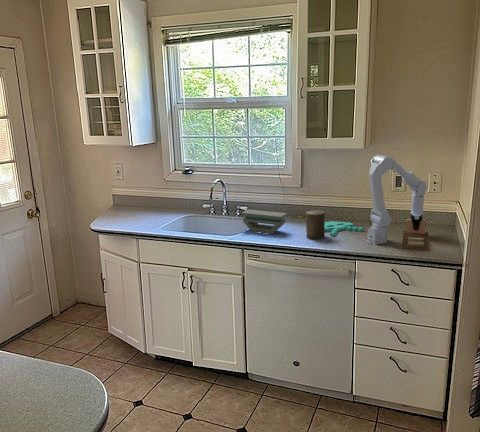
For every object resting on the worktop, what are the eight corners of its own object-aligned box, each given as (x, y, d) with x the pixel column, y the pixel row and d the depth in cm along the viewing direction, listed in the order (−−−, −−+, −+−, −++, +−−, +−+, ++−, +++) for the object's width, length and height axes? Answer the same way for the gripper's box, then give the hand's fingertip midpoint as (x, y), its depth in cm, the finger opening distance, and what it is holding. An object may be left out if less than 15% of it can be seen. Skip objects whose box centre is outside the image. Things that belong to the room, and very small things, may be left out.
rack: (430, 252, 209) (430, 247, 208) (400, 250, 214) (400, 245, 213) (428, 236, 232) (429, 231, 231) (402, 234, 237) (402, 230, 236)
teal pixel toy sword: (363, 231, 246) (342, 223, 264) (363, 228, 245) (342, 219, 263) (332, 237, 239) (313, 228, 257) (332, 233, 239) (313, 224, 257)
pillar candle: (325, 239, 235) (325, 211, 231) (306, 239, 236) (306, 212, 232) (323, 234, 244) (323, 207, 241) (305, 234, 245) (305, 207, 241)
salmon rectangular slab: (424, 236, 229) (425, 220, 227) (406, 235, 232) (407, 219, 230) (424, 235, 231) (425, 220, 228) (406, 234, 234) (407, 219, 231)
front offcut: (423, 249, 212) (423, 243, 211) (407, 248, 214) (407, 242, 214) (423, 248, 213) (423, 242, 213) (407, 246, 216) (407, 241, 215)
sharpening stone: (287, 231, 251) (287, 213, 248) (281, 235, 245) (281, 216, 242) (248, 227, 263) (247, 209, 260) (242, 230, 257) (241, 212, 254)
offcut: (423, 244, 218) (423, 239, 217) (407, 243, 220) (408, 238, 220) (423, 243, 219) (423, 238, 218) (407, 242, 222) (408, 237, 221)
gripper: (426, 207, 219) (424, 233, 222) (425, 200, 232) (424, 225, 235) (410, 206, 221) (409, 232, 225) (411, 200, 234) (409, 224, 238)
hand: (415, 229), depth 230 cm, fingers open, 3 cm apart
